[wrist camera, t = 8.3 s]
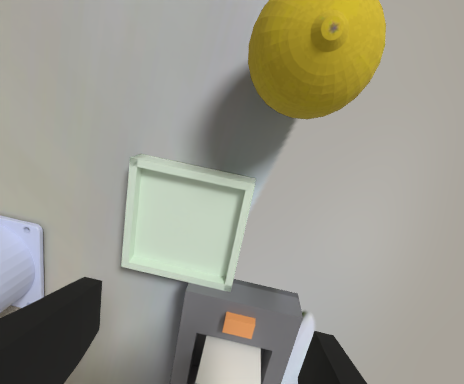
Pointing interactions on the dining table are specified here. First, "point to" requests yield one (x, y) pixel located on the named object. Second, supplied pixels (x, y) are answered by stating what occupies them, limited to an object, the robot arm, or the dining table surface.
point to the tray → (185, 221)
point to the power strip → (237, 326)
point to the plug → (229, 363)
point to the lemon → (315, 53)
